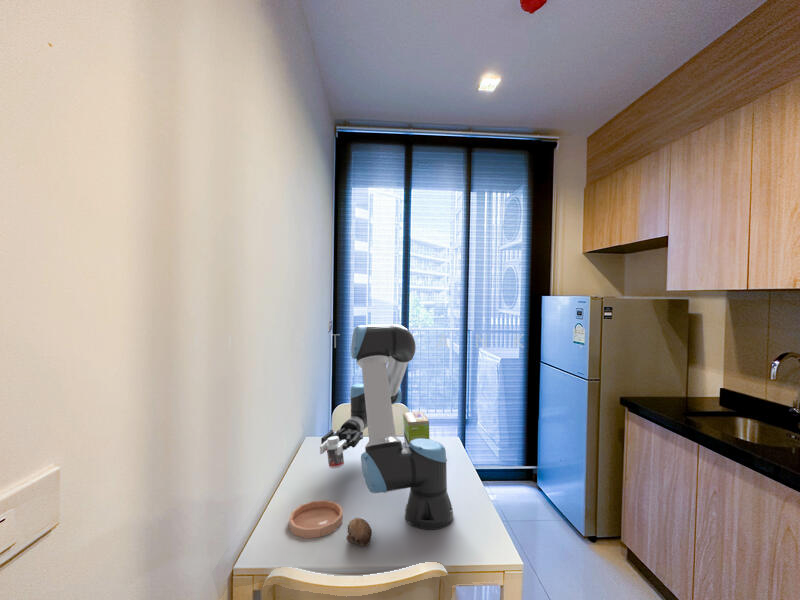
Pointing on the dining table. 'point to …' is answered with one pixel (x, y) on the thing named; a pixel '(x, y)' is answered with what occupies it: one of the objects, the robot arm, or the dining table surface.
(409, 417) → the tea box
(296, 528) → the bowl
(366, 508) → the dining table surface
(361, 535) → the mushroom
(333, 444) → the pill bottle
